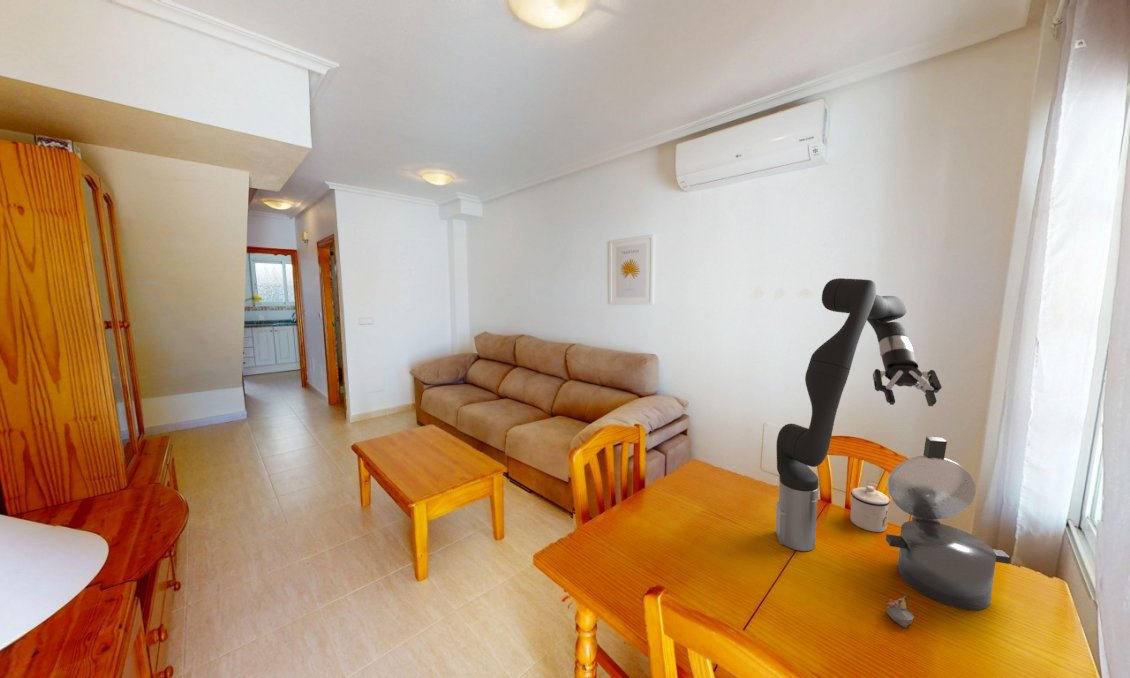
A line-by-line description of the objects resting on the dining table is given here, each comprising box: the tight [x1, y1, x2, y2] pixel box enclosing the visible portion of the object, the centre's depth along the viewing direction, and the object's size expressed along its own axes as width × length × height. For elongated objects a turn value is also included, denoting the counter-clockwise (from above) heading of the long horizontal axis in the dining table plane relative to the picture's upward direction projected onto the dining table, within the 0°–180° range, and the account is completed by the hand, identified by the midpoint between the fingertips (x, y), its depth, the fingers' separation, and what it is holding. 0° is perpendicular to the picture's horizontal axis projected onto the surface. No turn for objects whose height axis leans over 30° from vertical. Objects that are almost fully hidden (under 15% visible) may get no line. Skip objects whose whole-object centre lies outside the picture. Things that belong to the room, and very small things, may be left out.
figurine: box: [886, 595, 915, 628], centre depth 84 cm, size 5×4×6 cm
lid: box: [886, 436, 977, 520], centre depth 99 cm, size 22×17×3 cm
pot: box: [885, 515, 1011, 611], centre depth 94 cm, size 22×17×11 cm
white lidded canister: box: [849, 485, 891, 533], centre depth 118 cm, size 12×9×12 cm
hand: (912, 404), depth 108 cm, fingers open, 8 cm apart
